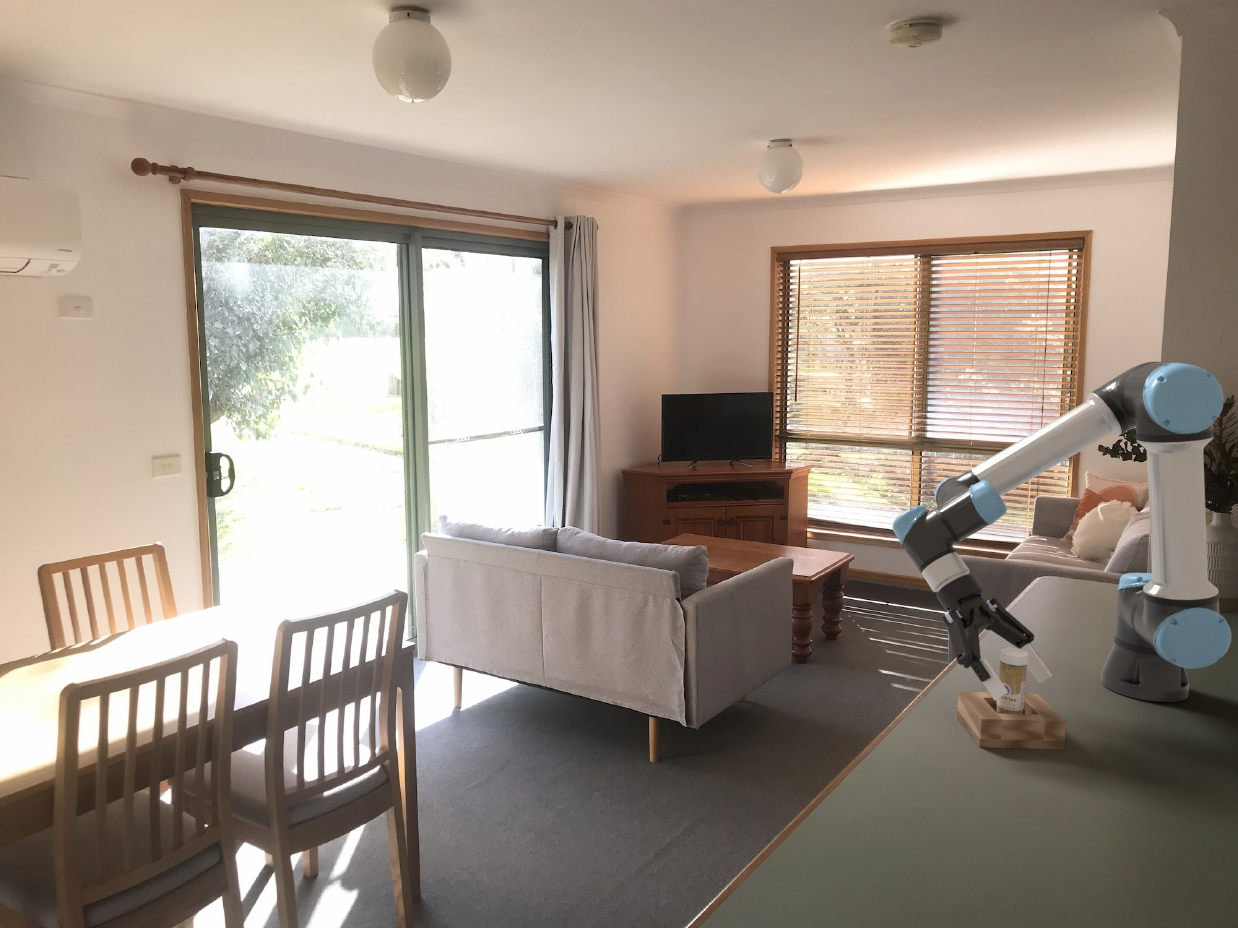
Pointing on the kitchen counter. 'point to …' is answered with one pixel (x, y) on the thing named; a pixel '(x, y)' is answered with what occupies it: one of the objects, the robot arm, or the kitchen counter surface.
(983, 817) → the kitchen counter surface
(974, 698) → the brown wooden square frame
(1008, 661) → the sprinkles bottle
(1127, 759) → the kitchen counter surface
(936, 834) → the kitchen counter surface
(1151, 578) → the robot arm
